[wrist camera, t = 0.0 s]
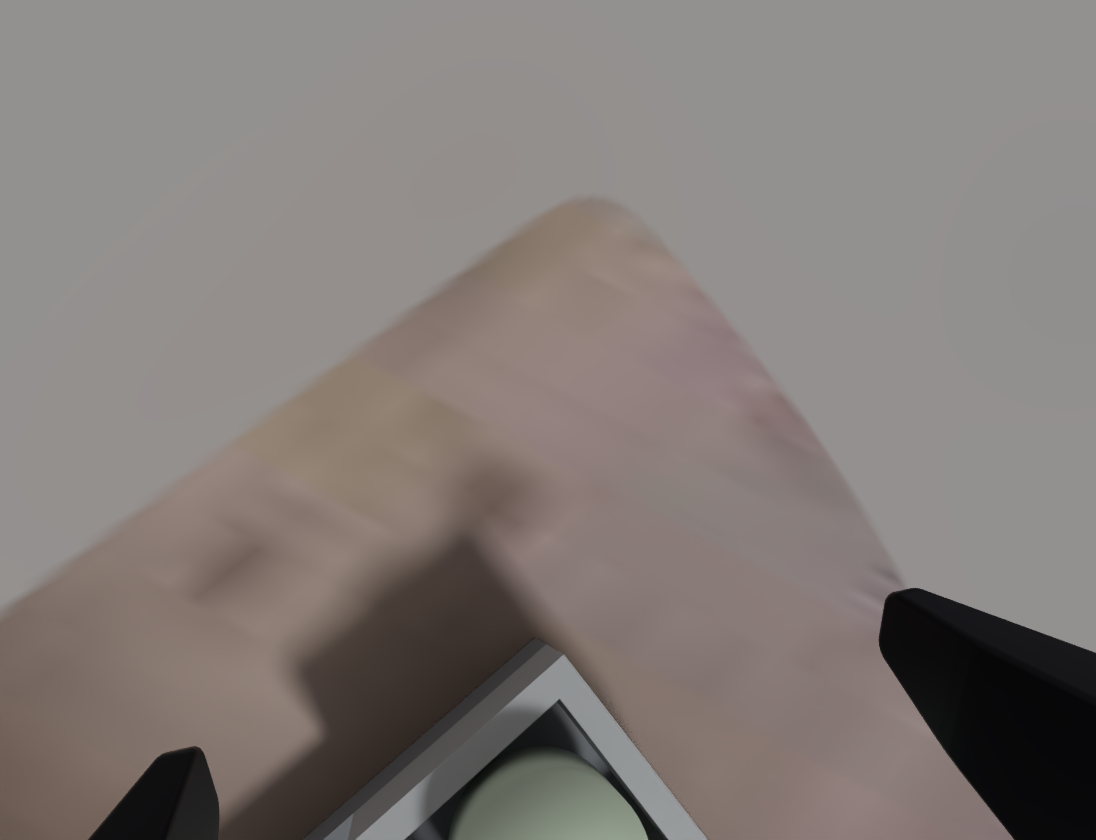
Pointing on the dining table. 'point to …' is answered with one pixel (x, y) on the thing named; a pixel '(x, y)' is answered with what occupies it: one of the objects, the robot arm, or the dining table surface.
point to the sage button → (543, 801)
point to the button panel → (493, 731)
